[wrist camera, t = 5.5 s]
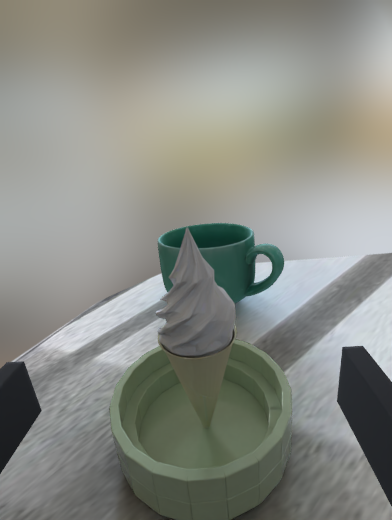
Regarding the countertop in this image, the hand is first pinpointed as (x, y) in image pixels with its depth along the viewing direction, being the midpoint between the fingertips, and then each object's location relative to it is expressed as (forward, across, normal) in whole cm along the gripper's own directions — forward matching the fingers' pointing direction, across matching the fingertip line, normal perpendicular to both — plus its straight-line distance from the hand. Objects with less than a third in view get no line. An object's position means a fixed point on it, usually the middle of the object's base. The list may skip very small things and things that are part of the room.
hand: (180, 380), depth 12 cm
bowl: (+6, 0, -10) cm, 12 cm away
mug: (+26, +2, -11) cm, 28 cm away
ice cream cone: (+6, 0, -10) cm, 12 cm away
